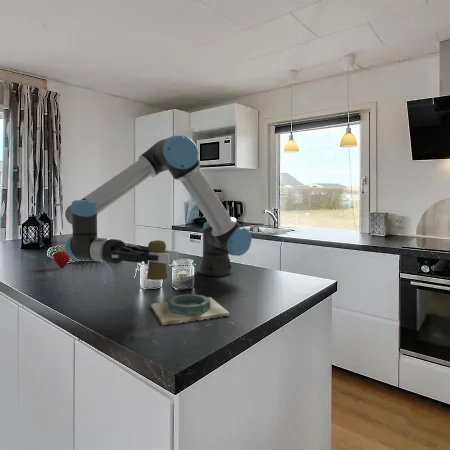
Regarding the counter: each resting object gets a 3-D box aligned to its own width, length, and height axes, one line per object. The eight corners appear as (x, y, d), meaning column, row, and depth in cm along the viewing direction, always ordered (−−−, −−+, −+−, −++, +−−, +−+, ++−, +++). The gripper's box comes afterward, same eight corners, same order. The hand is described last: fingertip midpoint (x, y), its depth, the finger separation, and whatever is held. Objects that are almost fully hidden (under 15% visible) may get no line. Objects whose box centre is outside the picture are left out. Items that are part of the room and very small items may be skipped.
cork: (148, 274, 105) (148, 239, 104) (168, 274, 106) (168, 239, 105) (145, 279, 99) (145, 242, 98) (166, 279, 100) (166, 242, 99)
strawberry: (58, 266, 162) (58, 245, 161) (73, 267, 161) (72, 246, 160) (50, 269, 156) (49, 247, 155) (65, 270, 155) (64, 248, 154)
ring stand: (210, 299, 117) (210, 289, 116) (229, 316, 102) (229, 304, 102) (151, 306, 109) (151, 296, 109) (162, 325, 94) (162, 313, 94)
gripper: (126, 257, 117) (187, 264, 108) (89, 268, 101) (156, 276, 92) (126, 235, 116) (187, 240, 107) (88, 242, 101) (156, 249, 92)
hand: (173, 257), depth 100 cm, fingers closed on cork, 4 cm apart
